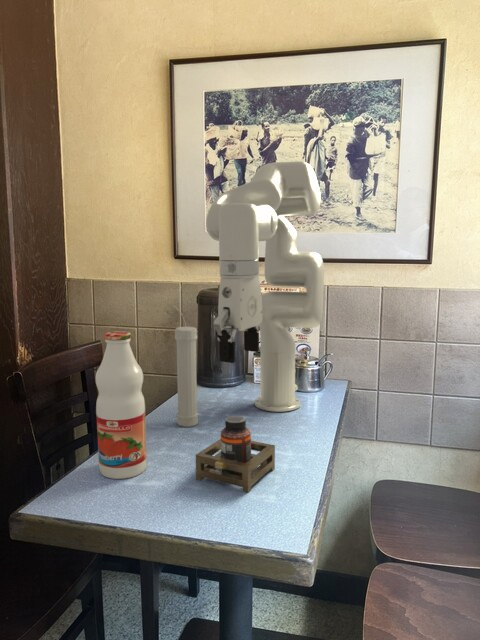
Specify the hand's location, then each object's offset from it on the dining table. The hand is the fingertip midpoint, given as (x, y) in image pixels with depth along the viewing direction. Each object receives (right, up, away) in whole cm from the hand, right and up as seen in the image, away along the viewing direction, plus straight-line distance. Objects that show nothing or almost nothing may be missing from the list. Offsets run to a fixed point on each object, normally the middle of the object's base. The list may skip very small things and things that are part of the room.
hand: (240, 356), depth 104 cm
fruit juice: (-24, -23, +2) cm, 33 cm away
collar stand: (-1, -23, 0) cm, 23 cm away
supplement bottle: (-1, -23, 0) cm, 23 cm away
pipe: (-13, -19, +28) cm, 37 cm away
